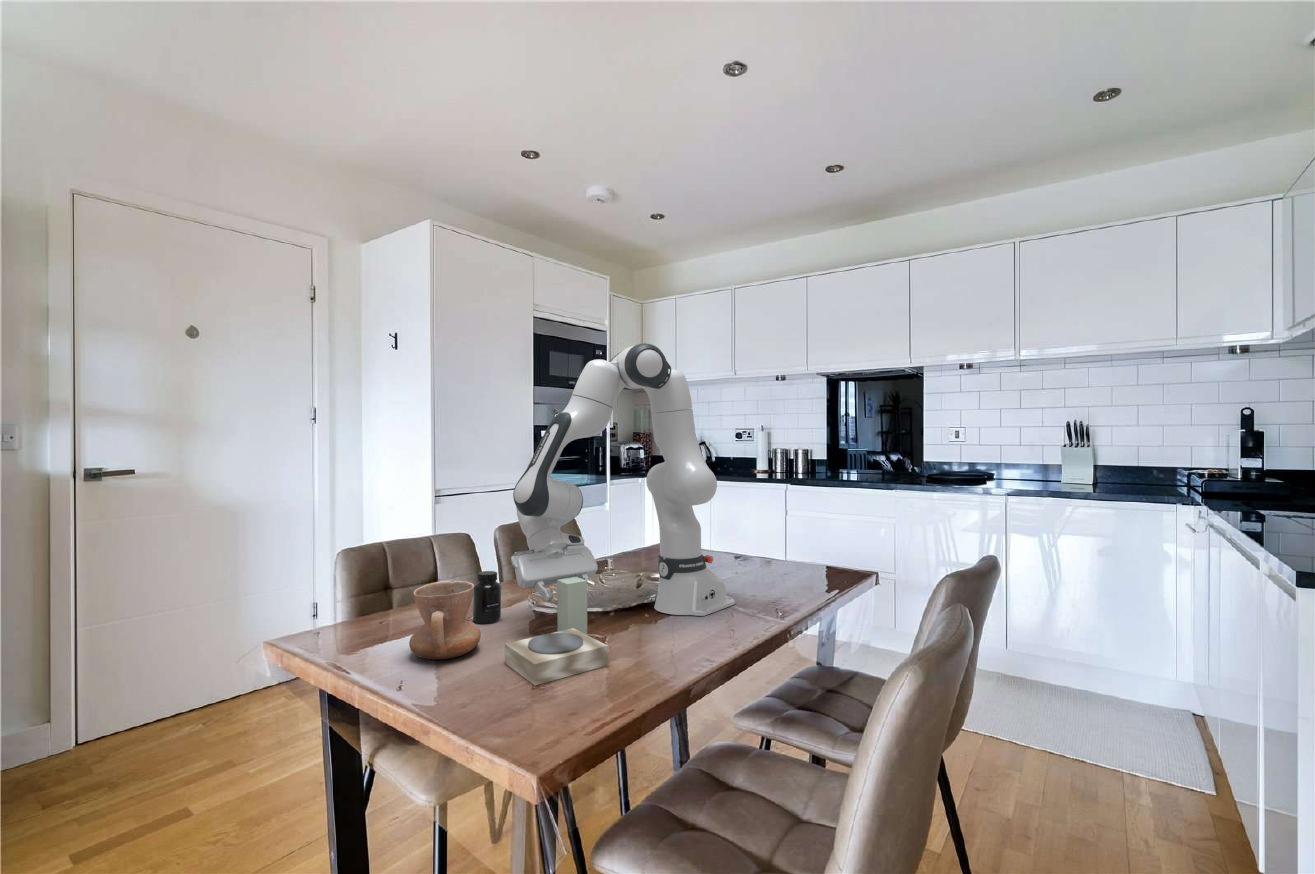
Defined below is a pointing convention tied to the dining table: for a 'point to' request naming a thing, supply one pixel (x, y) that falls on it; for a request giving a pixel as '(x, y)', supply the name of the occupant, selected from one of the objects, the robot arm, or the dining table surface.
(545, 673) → the birch base
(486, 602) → the supplement bottle
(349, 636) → the dining table surface
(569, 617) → the sage block
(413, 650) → the ceramic jug
